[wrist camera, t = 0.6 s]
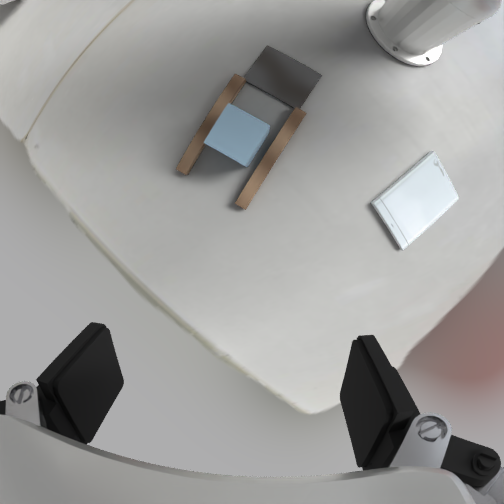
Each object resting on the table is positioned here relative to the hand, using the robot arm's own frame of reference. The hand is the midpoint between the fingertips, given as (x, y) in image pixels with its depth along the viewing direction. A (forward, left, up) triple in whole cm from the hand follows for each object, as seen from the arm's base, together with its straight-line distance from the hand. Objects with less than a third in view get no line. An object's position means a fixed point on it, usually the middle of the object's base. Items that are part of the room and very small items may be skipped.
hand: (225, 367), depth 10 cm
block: (-9, -7, -27) cm, 29 cm away
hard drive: (-16, +17, -28) cm, 36 cm away
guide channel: (-12, -7, -27) cm, 30 cm away
